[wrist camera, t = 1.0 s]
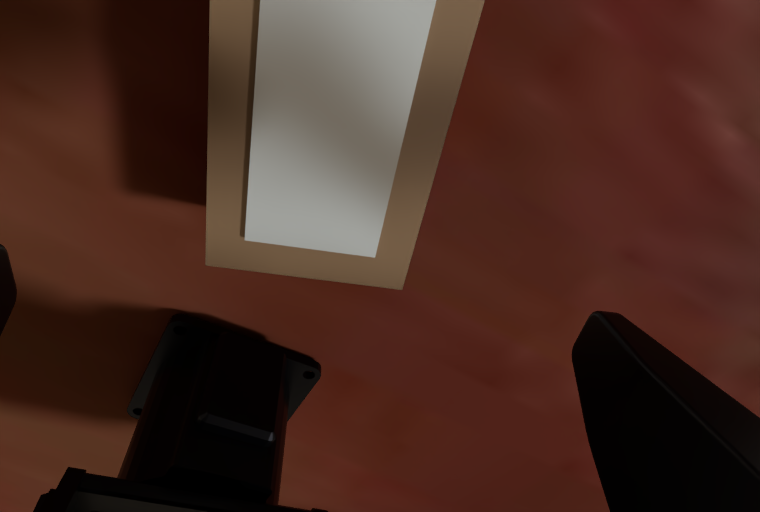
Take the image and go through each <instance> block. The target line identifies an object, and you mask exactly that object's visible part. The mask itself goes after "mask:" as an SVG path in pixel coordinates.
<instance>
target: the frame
mask: <svg viewBox="0 0 760 512" xmlns="http://www.w3.org/2000/svg"><path fill="white" fill-rule="evenodd" d="M484 1H485V0H210V16H209V78H208V139H207V201H206V263H205V265H207V266H215V267H223V268H231V269H239V270H247V271H255V272H263V273H271V274H279V275H287V276H295V277H303V278H311V279H319V280H327V281H335V282H343V283H351V284H359V285H367V286H375V287H383V288H391V289H399V290H402V288H403V285H404V281H405V278H406V274H407V271H408V267H409V264H410V260H411V257H412V253H413V250H414V246H415V243H416V239H417V236H418V232H419V229H420V225H421V222H422V218H423V215H424V211H425V208H426V204H427V201H428V197H429V194H430V190H431V187H432V183H433V180H434V176H435V173H436V169H437V166H438V162H439V159H440V155H441V152H442V148H443V145H444V141H445V138H446V134H447V131H448V127H449V124H450V120H451V117H452V113H453V110H454V106H455V103H456V99H457V96H458V92H459V89H460V85H461V82H462V78H463V75H464V71H465V68H466V64H467V61H468V57H469V54H470V50H471V47H472V43H473V40H474V36H475V33H476V29H477V26H478V22H479V19H480V15H481V12H482V8H483V5H484Z"/></svg>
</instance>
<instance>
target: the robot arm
mask: <svg viewBox="0 0 760 512" xmlns="http://www.w3.org/2000/svg"><path fill="white" fill-rule="evenodd" d="M16 295H17V289H16V284H15V280H14V276H13V272H12V268H11V264H10V260H9V256H8V253H7V250H6V249H5V247H4V246H3V245H1V244H0V336H1V333H2V331H3V329H4V327H5V324H6V322H7V320H8V318H9V316H10V313H11V311H12V309H13V307H14V304H15V301H16ZM178 326H183V327H185V328H180V327H178ZM572 362H573V367H574V372H575V377H576V382H577V387H578V392H579V398H580V403H581V408H582V413H583V418H584V423H585V428H586V432H587V437H588V441H589V444H590V448H591V452H592V455H593V458H594V462H595V465H596V468H597V471H598V474H599V478H600V481H601V484H602V487H603V490H604V494H605V497H606V500H607V503H608V506H609V510H610V512H760V418H759V417H758V416H756V415H755V414H754V413H752V412H751V411H750V410H748V409H747V408H746V407H744V406H743V405H742V404H740V403H739V402H738V401H736V400H735V399H734V398H732V397H731V396H730V395H728V394H727V393H726V392H724V391H723V390H722V389H720V388H719V387H718V386H716V385H715V384H713V383H712V382H711V381H709V380H708V379H707V378H705V377H704V376H703V375H701V374H700V373H699V372H697V371H696V370H695V369H693V368H692V367H691V366H689V365H688V364H687V363H685V362H684V361H683V360H681V359H680V358H679V357H677V356H676V355H675V354H673V353H672V352H671V351H669V350H668V349H667V348H665V347H664V346H662V345H661V344H660V343H658V342H657V341H656V340H654V339H653V338H652V337H650V336H649V335H648V334H646V333H645V332H644V331H642V330H641V329H640V328H638V327H637V326H636V325H634V324H633V323H632V322H630V321H629V320H628V319H626V318H625V317H624V316H622V315H621V314H618V313H614V312H605V311H595V312H593V313H592V314H591V315H590V316H589V318H588V319H587V321H586V323H585V325H584V327H583V329H582V330H581V332H580V334H579V336H578V338H577V340H576V342H575V343H574V346H573V349H572ZM307 371H312V372H307ZM320 377H321V365H320V364H319V363H318V362H316V361H314V360H312V359H309V358H306V357H303V356H300V355H298V354H295V353H292V352H289V351H286V350H283V349H281V348H278V347H275V346H272V345H269V344H267V343H264V342H261V341H258V340H255V339H253V338H250V337H247V336H244V335H241V334H239V333H236V332H233V331H230V330H227V329H224V328H222V327H219V326H216V325H213V324H210V323H208V322H205V321H202V320H199V319H196V318H194V317H191V316H188V315H184V314H177V315H174V316H173V317H172V318H171V319H170V321H169V323H168V325H167V327H166V329H165V331H164V333H163V335H162V337H161V339H160V341H159V343H158V345H157V347H156V349H155V351H154V353H153V356H152V358H151V360H150V362H149V364H148V366H147V368H146V370H145V372H144V374H143V376H142V378H141V380H140V382H139V384H138V386H137V388H136V390H135V392H134V395H133V397H132V399H131V401H130V403H129V406H128V408H127V412H128V414H129V415H130V416H131V417H134V418H136V419H139V420H138V423H137V426H136V428H135V431H134V434H133V437H132V439H131V442H130V445H129V447H128V450H127V453H126V456H125V458H124V461H123V464H122V466H121V469H120V472H119V474H118V477H117V478H113V477H107V476H101V475H95V474H89V473H86V470H84V469H78V468H72V467H68V468H67V470H66V472H65V474H64V476H63V477H62V479H61V481H60V483H59V485H58V487H57V488H56V489H50V491H49V493H46V494H43V495H41V496H40V498H39V500H38V502H37V505H36V507H35V509H34V511H33V512H328V511H327V510H321V509H315V508H312V510H305V509H299V508H293V507H287V506H281V505H278V502H279V492H280V483H281V473H282V464H283V455H284V445H285V436H286V426H287V421H288V420H289V419H290V417H291V416H292V415H293V413H294V412H295V411H296V409H297V408H298V407H299V405H300V404H301V403H302V401H303V400H304V399H305V397H306V396H307V395H308V393H309V392H310V391H311V389H312V388H313V387H314V385H315V384H316V383H317V381H318V380H319V379H320Z"/></svg>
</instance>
